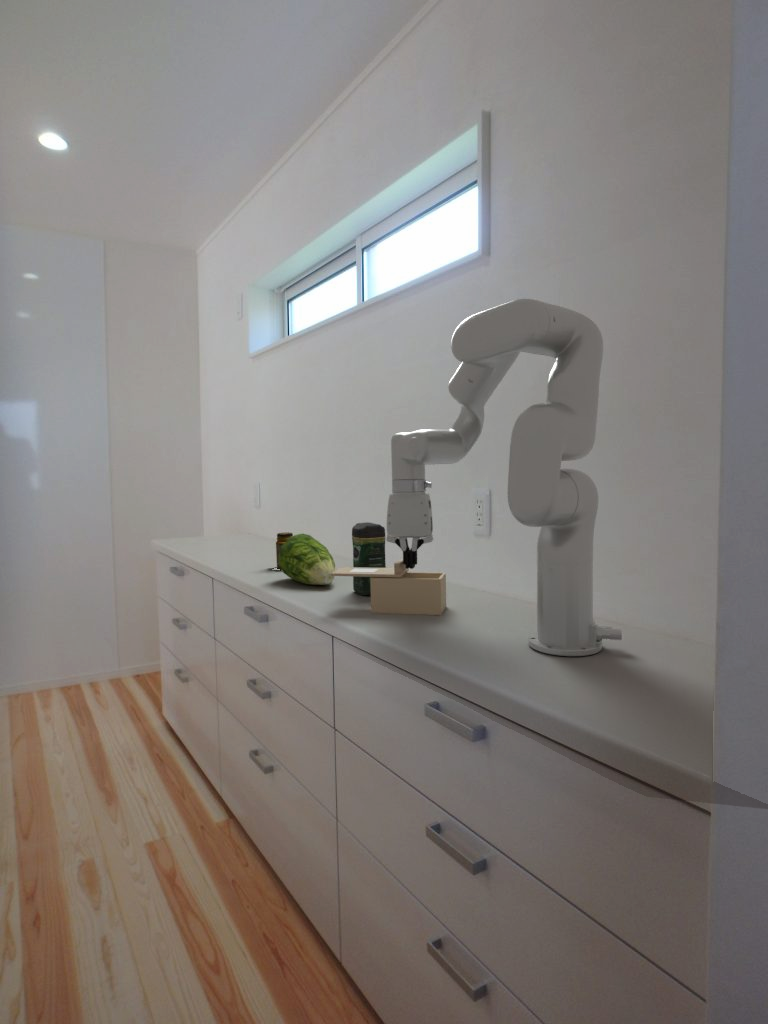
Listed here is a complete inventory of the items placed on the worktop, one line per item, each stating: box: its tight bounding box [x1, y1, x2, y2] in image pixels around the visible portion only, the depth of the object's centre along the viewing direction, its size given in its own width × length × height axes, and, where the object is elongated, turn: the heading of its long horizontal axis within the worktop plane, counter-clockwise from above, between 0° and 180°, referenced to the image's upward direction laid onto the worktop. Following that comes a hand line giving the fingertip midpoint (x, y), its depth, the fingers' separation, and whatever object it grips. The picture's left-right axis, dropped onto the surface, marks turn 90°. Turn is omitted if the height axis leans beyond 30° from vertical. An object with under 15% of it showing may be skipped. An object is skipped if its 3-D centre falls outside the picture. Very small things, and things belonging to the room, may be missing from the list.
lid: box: [331, 557, 410, 577], centre depth 137 cm, size 16×9×3 cm, turn 76°
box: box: [370, 571, 447, 616], centre depth 135 cm, size 16×8×8 cm, turn 76°
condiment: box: [267, 532, 294, 572], centre depth 196 cm, size 7×8×12 cm
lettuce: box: [279, 533, 336, 586], centre depth 170 cm, size 14×23×13 cm, turn 31°
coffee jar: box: [351, 522, 387, 596], centre depth 155 cm, size 10×8×19 cm
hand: (410, 567), depth 135 cm, fingers closed
